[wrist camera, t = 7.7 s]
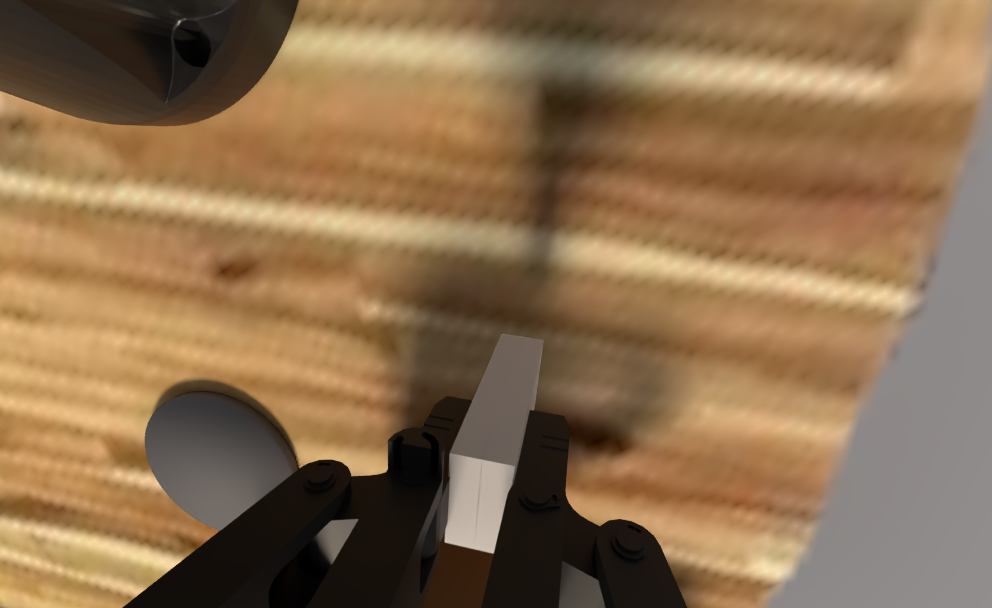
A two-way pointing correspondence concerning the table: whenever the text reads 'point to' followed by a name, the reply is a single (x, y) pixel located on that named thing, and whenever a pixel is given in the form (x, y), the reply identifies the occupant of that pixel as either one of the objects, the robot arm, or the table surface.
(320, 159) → the table surface
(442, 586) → the mug
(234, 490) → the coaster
